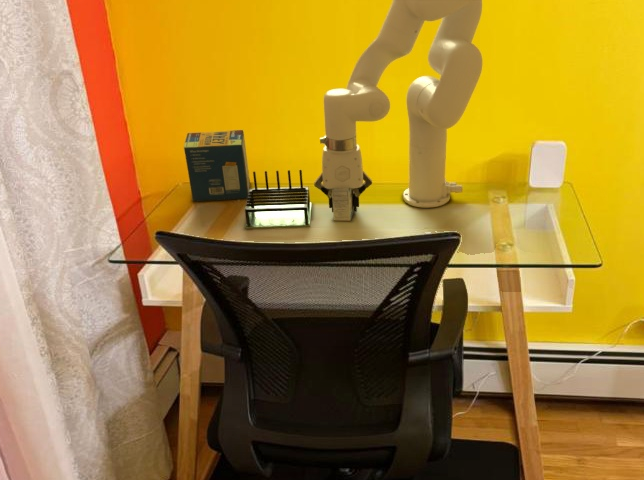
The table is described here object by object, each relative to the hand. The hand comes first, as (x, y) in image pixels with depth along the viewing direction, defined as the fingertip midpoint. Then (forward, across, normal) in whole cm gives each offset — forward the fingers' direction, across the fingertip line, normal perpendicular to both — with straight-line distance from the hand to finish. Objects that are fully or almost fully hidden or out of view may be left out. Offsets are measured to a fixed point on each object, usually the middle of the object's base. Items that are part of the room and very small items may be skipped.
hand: (344, 209), depth 204 cm
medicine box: (+2, 0, 0) cm, 2 cm away
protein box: (+2, -34, +16) cm, 38 cm away
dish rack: (+2, -17, 0) cm, 17 cm away
